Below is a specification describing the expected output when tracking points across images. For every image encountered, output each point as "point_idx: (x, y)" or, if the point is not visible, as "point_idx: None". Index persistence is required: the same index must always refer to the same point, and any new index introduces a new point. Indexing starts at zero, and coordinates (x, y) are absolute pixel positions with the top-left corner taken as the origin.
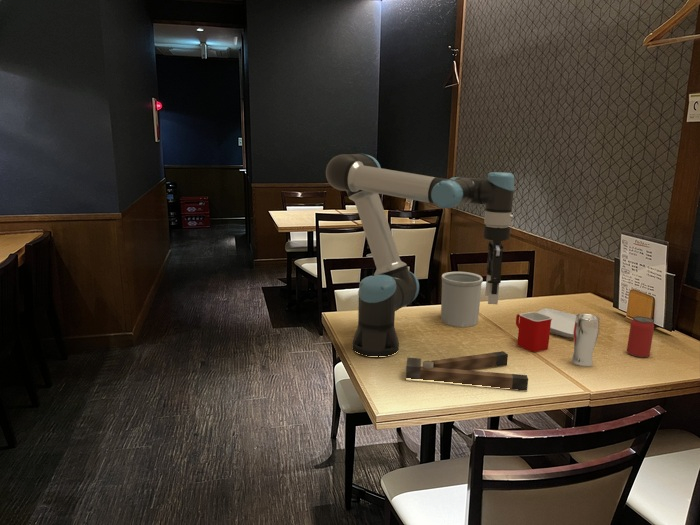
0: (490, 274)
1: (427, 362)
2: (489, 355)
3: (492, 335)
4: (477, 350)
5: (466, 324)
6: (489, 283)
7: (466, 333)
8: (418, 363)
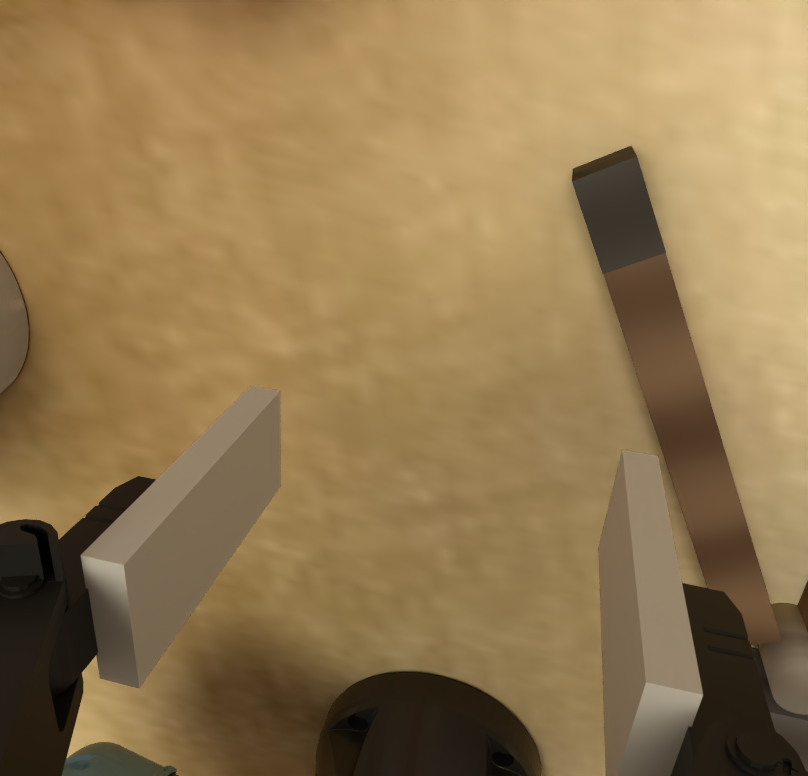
0: (84, 641)
1: (802, 694)
2: (654, 301)
3: (103, 127)
4: (383, 288)
5: (4, 282)
6: (205, 557)
7: (120, 297)
8: (801, 729)
